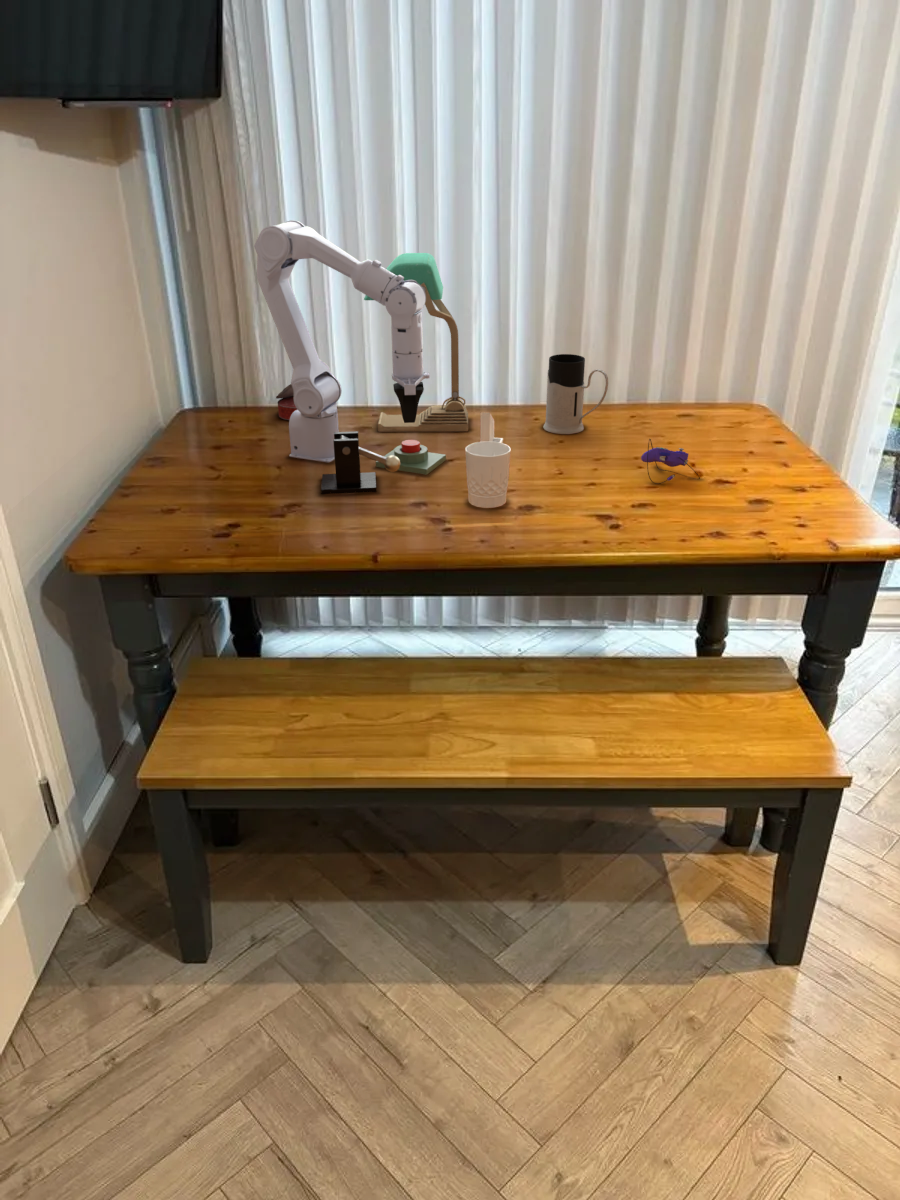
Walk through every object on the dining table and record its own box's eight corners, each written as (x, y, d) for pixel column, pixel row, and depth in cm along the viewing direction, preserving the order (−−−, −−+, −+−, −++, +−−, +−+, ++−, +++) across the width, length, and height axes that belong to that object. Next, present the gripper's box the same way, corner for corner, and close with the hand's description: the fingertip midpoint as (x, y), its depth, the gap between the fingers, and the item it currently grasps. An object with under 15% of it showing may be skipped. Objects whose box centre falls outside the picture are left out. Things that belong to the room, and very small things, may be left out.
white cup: (514, 496, 171) (516, 443, 166) (502, 513, 165) (503, 458, 160) (473, 491, 173) (473, 439, 169) (459, 507, 167) (459, 453, 162)
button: (398, 452, 184) (398, 444, 183) (406, 447, 187) (406, 438, 186) (415, 455, 183) (414, 446, 182) (423, 449, 186) (422, 441, 185)
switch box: (375, 468, 185) (375, 452, 183) (396, 454, 192) (396, 438, 190) (426, 476, 181) (426, 460, 179) (446, 461, 188) (446, 445, 186)
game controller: (667, 442, 185) (706, 446, 177) (660, 484, 186) (698, 490, 178) (630, 435, 180) (668, 439, 171) (623, 478, 181) (660, 484, 173)
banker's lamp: (468, 436, 201) (468, 263, 184) (370, 437, 201) (361, 264, 185) (468, 414, 215) (467, 251, 198) (376, 414, 215) (368, 252, 198)
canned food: (284, 439, 215) (259, 401, 211) (297, 420, 223) (273, 384, 219) (324, 419, 210) (300, 380, 206) (336, 401, 219) (313, 363, 214)
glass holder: (556, 419, 211) (559, 351, 204) (613, 430, 204) (618, 360, 197) (535, 429, 205) (538, 359, 198) (594, 441, 198) (598, 369, 190)
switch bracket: (375, 478, 180) (373, 428, 175) (376, 493, 173) (373, 442, 168) (322, 480, 179) (318, 430, 175) (321, 496, 172) (317, 444, 168)
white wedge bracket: (476, 457, 182) (480, 412, 183) (483, 466, 192) (487, 423, 192) (495, 458, 182) (499, 413, 182) (501, 467, 192) (505, 424, 192)
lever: (396, 470, 177) (402, 456, 176) (396, 476, 174) (403, 462, 173) (336, 447, 174) (342, 432, 173) (336, 452, 171) (342, 438, 170)
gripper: (431, 359, 170) (432, 432, 176) (426, 340, 182) (427, 409, 189) (392, 360, 169) (394, 434, 176) (389, 341, 182) (392, 410, 188)
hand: (409, 421), depth 182 cm, fingers closed
